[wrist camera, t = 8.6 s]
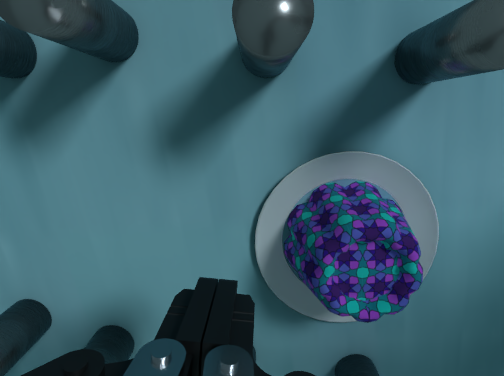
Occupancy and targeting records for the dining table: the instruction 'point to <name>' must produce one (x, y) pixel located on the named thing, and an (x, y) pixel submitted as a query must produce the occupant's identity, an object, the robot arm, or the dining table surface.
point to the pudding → (347, 238)
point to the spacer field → (257, 62)
